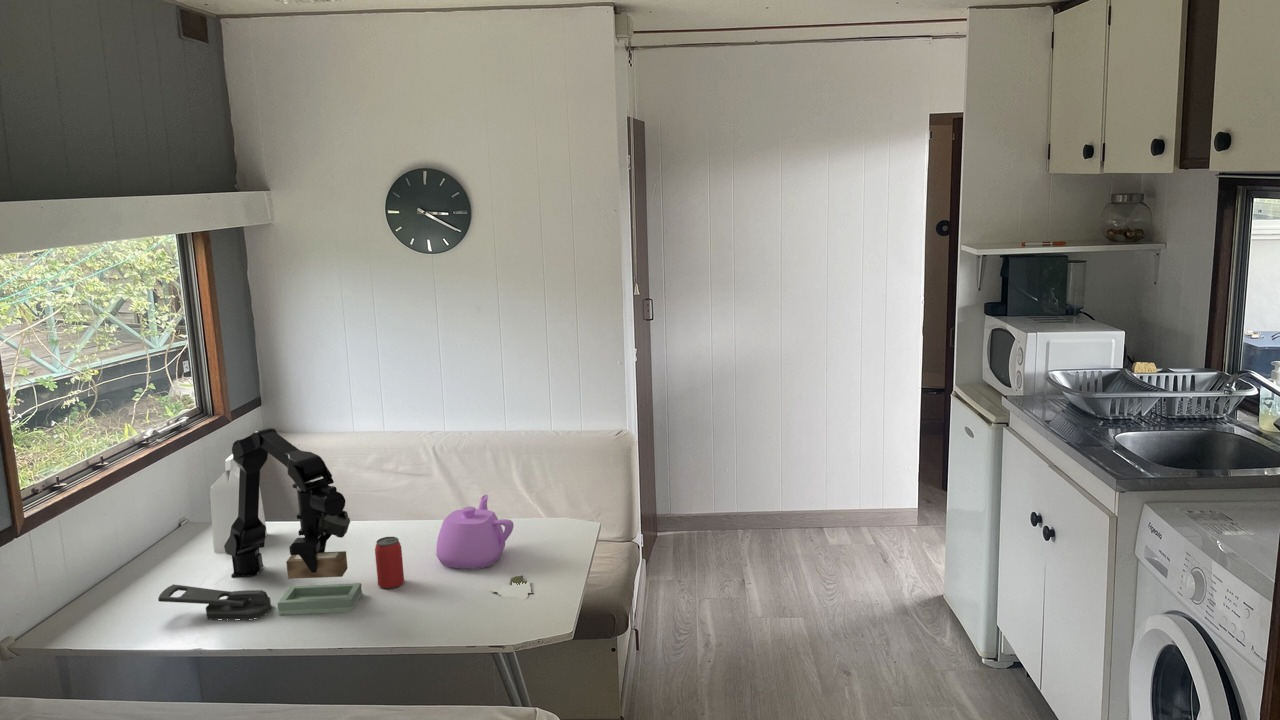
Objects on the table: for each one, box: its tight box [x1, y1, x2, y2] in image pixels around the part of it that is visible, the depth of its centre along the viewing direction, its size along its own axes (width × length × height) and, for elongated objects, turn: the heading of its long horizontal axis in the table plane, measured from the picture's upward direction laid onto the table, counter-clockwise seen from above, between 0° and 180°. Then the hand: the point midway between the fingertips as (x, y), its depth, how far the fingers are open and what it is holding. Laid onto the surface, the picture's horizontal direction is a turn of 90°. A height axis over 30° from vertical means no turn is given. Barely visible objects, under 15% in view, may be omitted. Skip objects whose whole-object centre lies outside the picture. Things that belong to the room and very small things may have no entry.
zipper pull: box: [157, 584, 272, 621], centre depth 230 cm, size 9×7×25 cm
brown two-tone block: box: [286, 550, 348, 580], centre depth 232 cm, size 13×5×5 cm, turn 92°
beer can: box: [374, 536, 405, 590], centre depth 243 cm, size 7×7×12 cm
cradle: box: [277, 582, 363, 616], centre depth 233 cm, size 18×10×3 cm, turn 92°
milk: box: [209, 454, 268, 553], centre depth 273 cm, size 12×12×26 cm
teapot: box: [435, 494, 514, 569], centre depth 259 cm, size 23×21×15 cm
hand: (317, 567), depth 232 cm, fingers closed on brown two-tone block, 5 cm apart
